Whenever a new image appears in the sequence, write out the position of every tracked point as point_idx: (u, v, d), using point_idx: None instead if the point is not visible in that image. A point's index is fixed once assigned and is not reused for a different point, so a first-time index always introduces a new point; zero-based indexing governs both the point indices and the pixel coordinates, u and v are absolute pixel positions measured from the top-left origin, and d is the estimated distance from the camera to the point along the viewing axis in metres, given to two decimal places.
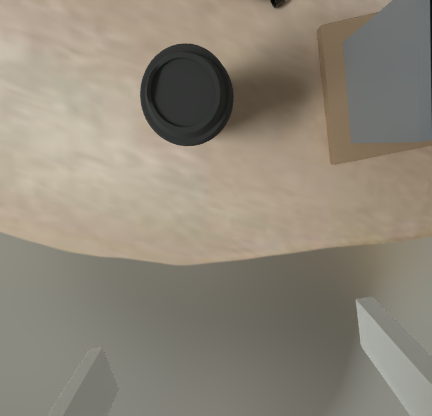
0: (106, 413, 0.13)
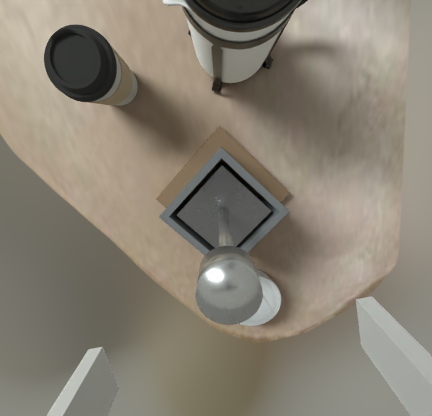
0: (106, 413, 0.13)
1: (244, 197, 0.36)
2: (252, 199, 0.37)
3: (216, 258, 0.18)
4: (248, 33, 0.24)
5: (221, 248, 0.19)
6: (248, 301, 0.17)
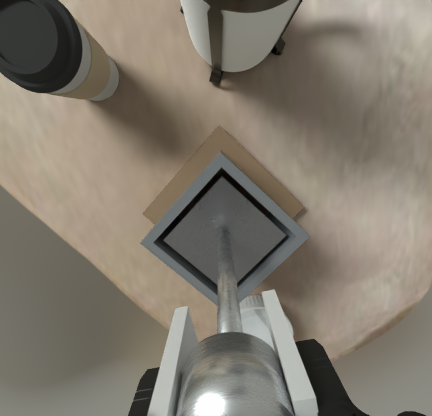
0: None
1: (251, 218, 0.28)
2: (261, 220, 0.28)
3: (211, 371, 0.09)
4: None
5: (221, 340, 0.11)
6: None
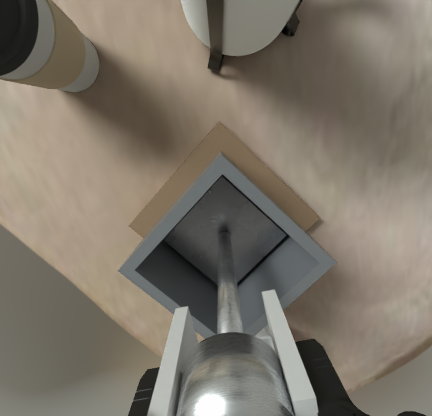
0: None
1: (251, 218, 0.28)
2: (261, 220, 0.28)
3: (211, 371, 0.09)
4: None
5: (221, 340, 0.11)
6: None
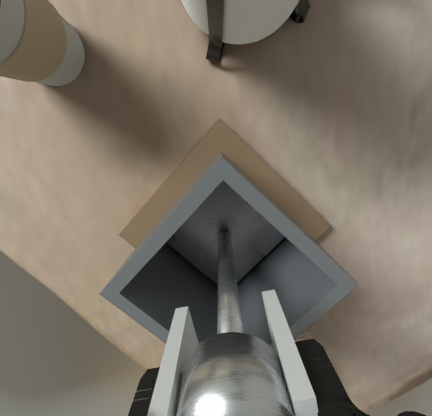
0: None
1: (251, 218, 0.28)
2: (261, 220, 0.28)
3: (211, 371, 0.09)
4: None
5: (221, 340, 0.11)
6: None
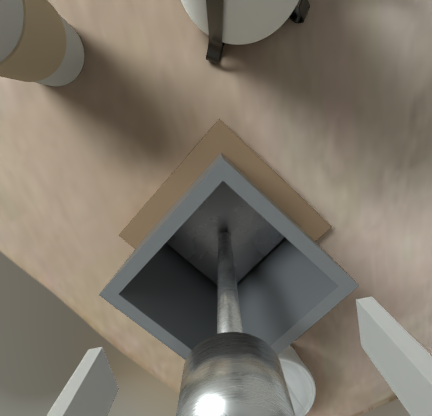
0: (106, 413, 0.13)
1: (251, 218, 0.28)
2: (261, 220, 0.28)
3: (211, 371, 0.09)
4: None
5: (221, 340, 0.11)
6: None
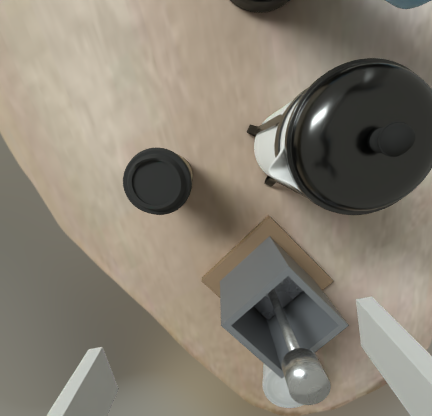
0: (106, 413, 0.13)
1: (286, 277, 0.47)
2: None
3: (299, 361, 0.28)
4: None
5: (299, 350, 0.30)
6: (321, 391, 0.28)
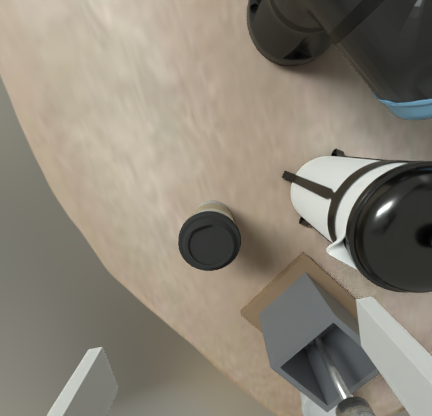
0: (106, 413, 0.13)
1: None
2: None
3: (354, 412, 0.31)
4: None
5: (352, 400, 0.33)
6: None
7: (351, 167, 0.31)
